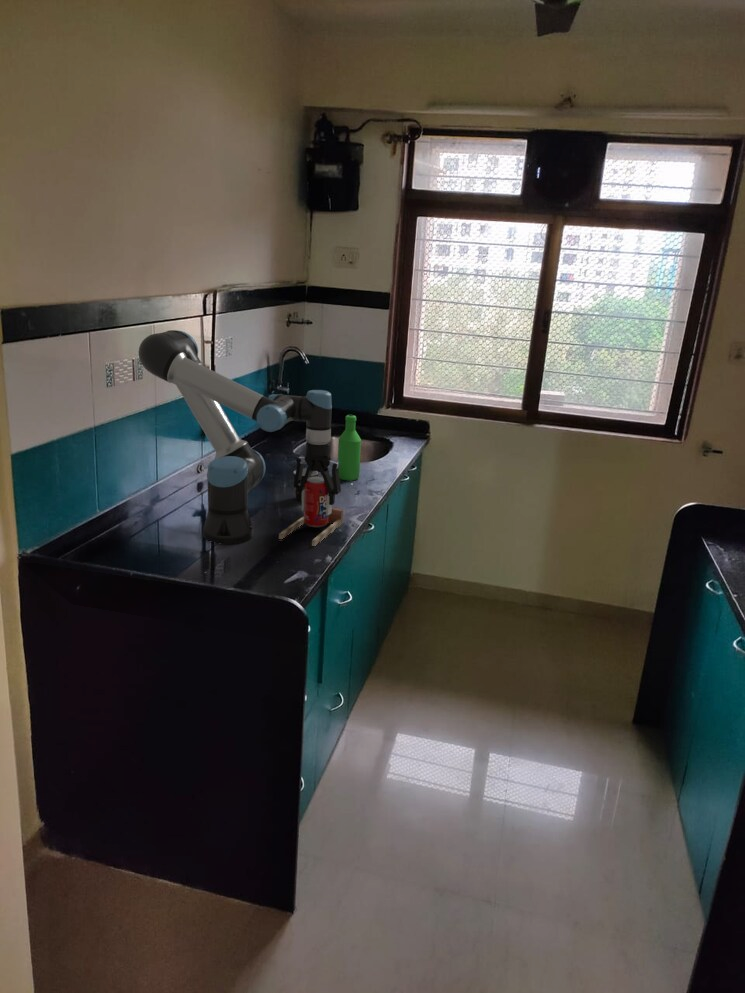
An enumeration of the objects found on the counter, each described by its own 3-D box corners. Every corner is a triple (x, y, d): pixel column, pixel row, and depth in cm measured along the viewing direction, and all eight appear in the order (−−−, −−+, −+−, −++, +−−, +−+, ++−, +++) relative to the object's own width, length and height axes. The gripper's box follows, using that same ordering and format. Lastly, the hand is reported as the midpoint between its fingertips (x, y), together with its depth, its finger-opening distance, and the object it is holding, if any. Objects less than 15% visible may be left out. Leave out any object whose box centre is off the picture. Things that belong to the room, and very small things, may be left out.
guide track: (314, 546, 210) (315, 531, 209) (278, 539, 214) (279, 524, 212) (342, 523, 230) (343, 509, 229) (309, 517, 234) (309, 503, 232)
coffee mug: (313, 504, 246) (314, 477, 243) (289, 501, 248) (290, 474, 245) (322, 494, 257) (323, 468, 254) (299, 491, 259) (300, 465, 256)
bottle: (362, 480, 276) (365, 417, 268) (341, 482, 273) (344, 418, 265) (354, 474, 284) (357, 413, 276) (334, 475, 281) (336, 413, 273)
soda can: (301, 520, 226) (301, 476, 221) (324, 519, 229) (325, 474, 224) (307, 529, 219) (308, 483, 214) (331, 527, 222) (332, 482, 217)
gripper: (354, 443, 215) (351, 513, 223) (293, 434, 222) (292, 503, 229) (344, 448, 209) (341, 520, 216) (282, 439, 215) (281, 510, 223)
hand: (316, 511), depth 223 cm, fingers closed on soda can, 8 cm apart
